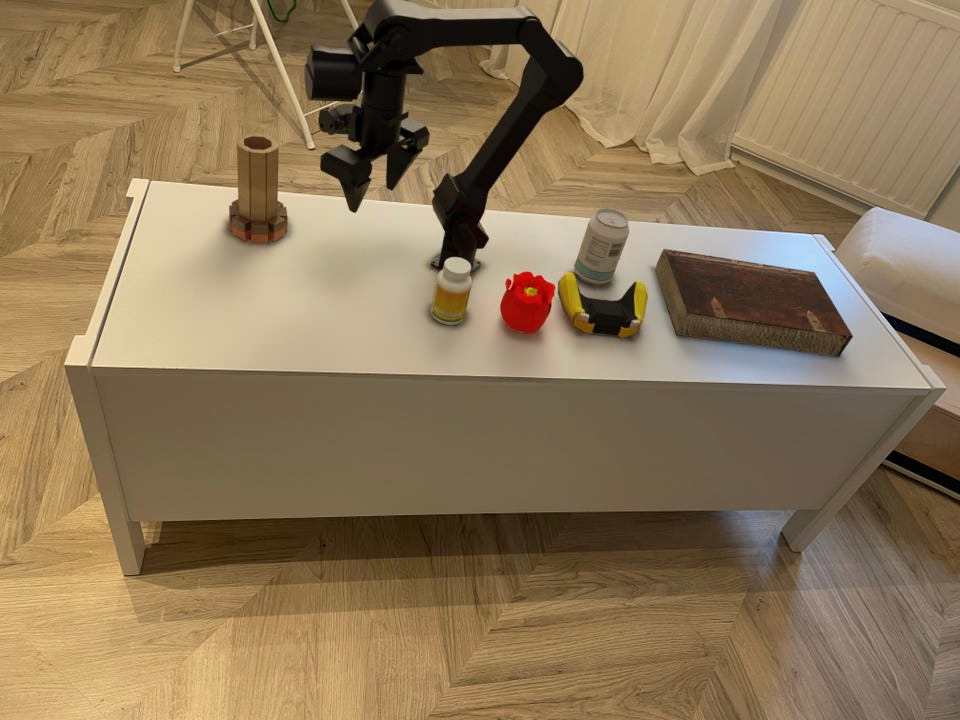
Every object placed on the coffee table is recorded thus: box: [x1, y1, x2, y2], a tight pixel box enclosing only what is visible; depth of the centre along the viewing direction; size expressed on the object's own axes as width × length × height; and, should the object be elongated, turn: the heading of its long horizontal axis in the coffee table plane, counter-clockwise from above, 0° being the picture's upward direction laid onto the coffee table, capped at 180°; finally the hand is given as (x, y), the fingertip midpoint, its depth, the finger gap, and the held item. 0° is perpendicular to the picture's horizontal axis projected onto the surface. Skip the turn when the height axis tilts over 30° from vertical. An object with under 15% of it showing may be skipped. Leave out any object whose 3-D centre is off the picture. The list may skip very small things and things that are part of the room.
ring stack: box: [228, 198, 288, 244], centre depth 126 cm, size 9×9×3 cm
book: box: [654, 248, 854, 358], centre depth 134 cm, size 29×19×5 cm, turn 91°
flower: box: [499, 270, 556, 335], centre depth 119 cm, size 8×8×8 cm
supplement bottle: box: [430, 257, 473, 326], centre depth 117 cm, size 5×5×10 cm
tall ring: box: [236, 132, 279, 221], centre depth 121 cm, size 6×6×12 cm
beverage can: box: [573, 208, 630, 285], centre depth 131 cm, size 7×7×12 cm
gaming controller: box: [557, 271, 649, 339], centre depth 125 cm, size 15×6×10 cm
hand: (371, 200), depth 116 cm, fingers open, 9 cm apart
